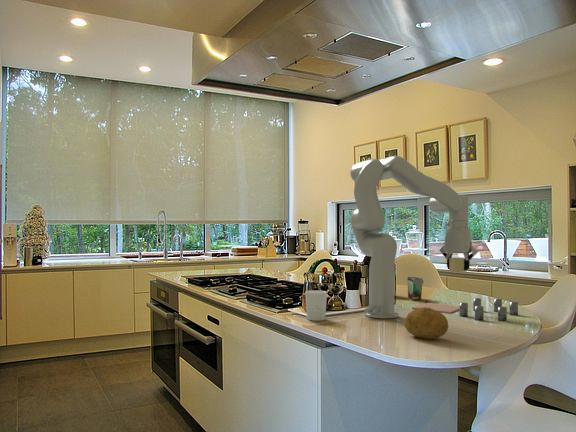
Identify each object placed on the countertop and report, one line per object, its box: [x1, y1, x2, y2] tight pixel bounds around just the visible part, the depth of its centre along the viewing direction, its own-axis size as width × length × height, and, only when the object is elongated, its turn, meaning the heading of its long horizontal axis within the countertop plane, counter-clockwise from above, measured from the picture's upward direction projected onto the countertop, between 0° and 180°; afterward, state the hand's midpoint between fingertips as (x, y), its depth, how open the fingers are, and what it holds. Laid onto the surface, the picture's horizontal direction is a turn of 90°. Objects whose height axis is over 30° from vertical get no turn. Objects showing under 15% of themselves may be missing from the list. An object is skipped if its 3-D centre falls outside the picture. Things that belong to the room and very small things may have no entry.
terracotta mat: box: [411, 302, 460, 314], centre depth 199 cm, size 16×16×1 cm
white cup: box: [305, 289, 328, 322], centre depth 174 cm, size 8×8×10 cm
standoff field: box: [459, 297, 519, 322], centre depth 184 cm, size 27×17×5 cm, turn 141°
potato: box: [404, 307, 449, 340], centre depth 145 cm, size 10×13×9 cm
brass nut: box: [448, 257, 468, 273], centre depth 193 cm, size 7×6×5 cm
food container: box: [406, 276, 425, 302], centre depth 225 cm, size 12×6×10 cm, turn 179°
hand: (458, 269), depth 193 cm, fingers closed on brass nut, 6 cm apart
